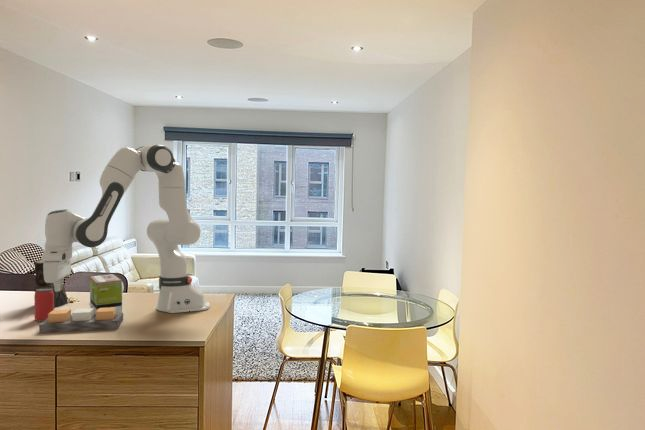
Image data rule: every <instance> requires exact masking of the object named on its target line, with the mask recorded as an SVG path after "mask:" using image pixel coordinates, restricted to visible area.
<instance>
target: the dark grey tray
mask: <svg viewBox="0 0 645 430" xmlns="http://www.w3.org/2000/svg"><path fill="white" fill-rule="evenodd" d="M123 322H124V312H122V313H116V317H115V319H109V320H96V314H94V317H93V319H92V320H88V321H72V314H71V318H70V319H69V320H68V321H67V322H48V318H47V319H46V320H44V321H41V323H40V324H39V325H38V326H39V327H38V328H39V329H38V330H39V332H38V333H39V334H47V333H64V332H82V331H83V332H84V331H86V332H87V331H102V330H103V331H105V330H119V327H120V326H121V325H122V323H123Z"/></svg>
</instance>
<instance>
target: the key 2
mask: <svg viewBox="0 0 645 430" xmlns="http://www.w3.org/2000/svg"><path fill="white" fill-rule="evenodd" d="M115 317H116V307H109V308H99V309H98V310H97V311H96V320H109V319H115Z"/></svg>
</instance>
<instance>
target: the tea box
mask: <svg viewBox="0 0 645 430" xmlns="http://www.w3.org/2000/svg"><path fill="white" fill-rule="evenodd" d="M110 274H111V275H108V274H102V275H95V276H94V275H93V276H92V275H91V276H89V303H90V304H89V306H90V308H94V314H96V311H97V310H98V309H99V308H109V307H116V313H123V293H122V283H123V281H122V279H121V278H119V277H118V276H116V275H115V274H113V273H110Z"/></svg>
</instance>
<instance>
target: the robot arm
mask: <svg viewBox="0 0 645 430" xmlns="http://www.w3.org/2000/svg"><path fill="white" fill-rule="evenodd" d="M139 171H142V172H150V173H151V172H153V173H155V174H156V176H157V179H158V205H159V207H160V208H161V209H162V210H163V211H164V212H165V214H166V215H167V217H168V218H159V219H154V220H151V221H150V222H149V223H148V225H147V227H146V235H147V238H148V239H149V240H150V241H151V242H152V243H153V245H154V246H155V249H156V251H157V254H158V258H159V274H160V275H159V277H158V289H159V293H158V300H157V305H156V308H155V309H156V310H157V311H160V312H163V313H164V312H165V313H168V314H175V313H176V314H177V313H187V312H189V311H190V312H197V311H206V310H208V309H210V306H211V305H210V302H209V301H206V300H205V295H204V292H203V291H202V290H201V289H200V288H198V287H196V286H195V285H194V284H193V283H192V282H193V278H192V277H191V275H187V274H188V273H187V271H188V270H187V269H188V267H187V266H188V265H187V263H188V261H187V257H186V256H185V255H184V254H183V253H182V251H181V249H180V247H179V246H189V245H194V244H196V243H197V242H198V241H199V239H200V237H201V227H200V226H199V224H198V223H197V222H196V221H195V220H194V219H193V217H192V215H191V214H190V212H189V209H188V204H187V197H186V179H185V178H186V177H185V172H184V168H183V166H182V165H181V164H180V163H179V162H176V159H175V158H174V154H173V151H171V149H170V148H169V147H167V146H166V145H164V144H163V145H162V144H147V145H143V146H140V147H138V148H136V149H135V148H132V147H128V146H124V147H121V148H120V149H118V151H116V152H115V154H113V156H112V157H111V159H110V160H109V161H108V163H107V164H106V166H105V167H104V170H103V171H102V173H101V175H100V179H99V186H100V188H101V192H102V194H101V197H100V199H99V201H98V203H97V205H96V207H95V208H94V210H93V212H92V214H91V215H90V216H89V217H88V218H86V217H84V216H81V215H78V214H76V213H75V212H72V211H71V210H70V209H59V210H58V209H57V210H53V211H50V212H49V213H48V214H47V215H46V218H45V225H44V237H45V243H44V252H43V253H42V255H41V260H42V261H44V263H43V273H44V280H45V282H46V283H53V284H54V287H55V291H56V292H59V291H60V290H62V285H63V286H64V280H65V279H64V278H65V277H67V276H69V275H71V272H72V261H71V259H73V243H78V244H81V245H82V246H84V247H87V248H95V247H99V246H101V245H102V244H103V243H104V242H105V241H106V238H107V237H108V236H107V235H108V230H109V229H108V228H109V224H110V222H111V220H112V217H113V216H114V214H115V211H116V210H117V208H118V206H119V204H120V202H121V200H122V198H123V196H124V195H125V193H126V192H127V190H128V189H129V187H130V185H131V184H132V182H133V180H134V178H135V176H136V175H137V174H138V172H139Z"/></svg>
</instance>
